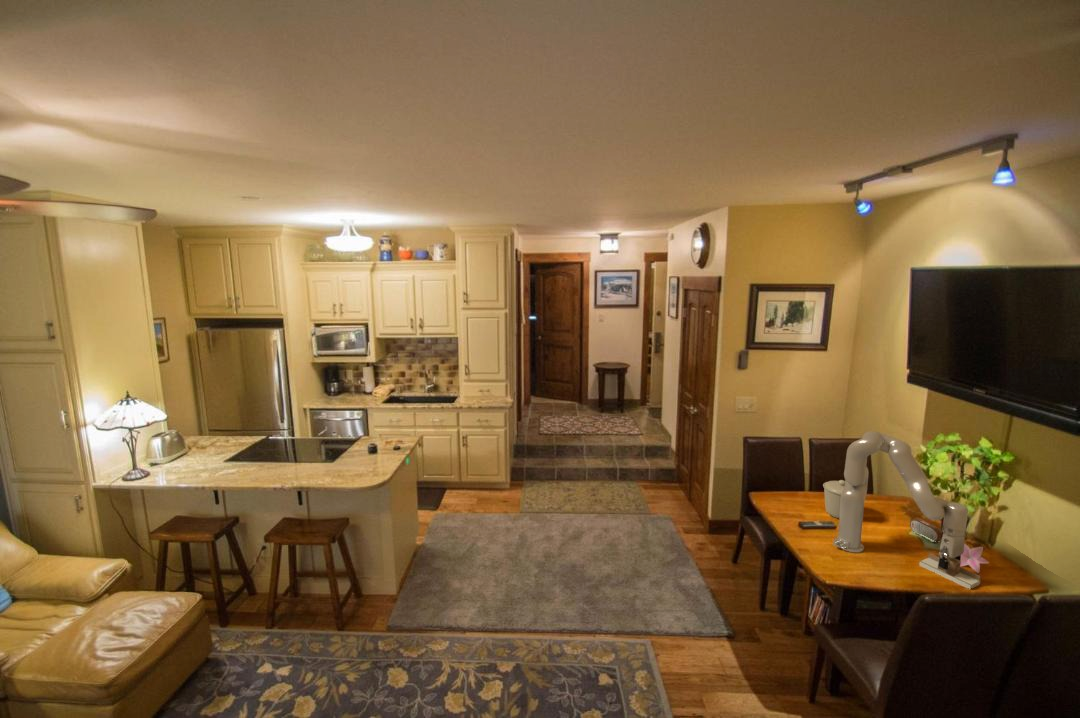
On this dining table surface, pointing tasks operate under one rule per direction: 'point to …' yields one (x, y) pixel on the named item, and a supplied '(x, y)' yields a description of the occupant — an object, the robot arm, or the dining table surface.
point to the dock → (963, 578)
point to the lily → (972, 558)
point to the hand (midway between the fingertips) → (949, 565)
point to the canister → (833, 497)
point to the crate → (952, 566)
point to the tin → (926, 529)
